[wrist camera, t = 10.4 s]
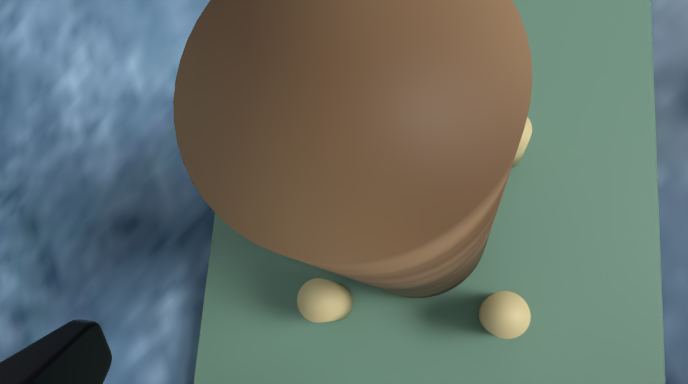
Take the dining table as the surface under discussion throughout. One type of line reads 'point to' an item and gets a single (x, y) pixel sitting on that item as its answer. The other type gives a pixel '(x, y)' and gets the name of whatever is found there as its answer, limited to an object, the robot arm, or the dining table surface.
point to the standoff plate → (490, 249)
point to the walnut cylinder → (357, 130)
